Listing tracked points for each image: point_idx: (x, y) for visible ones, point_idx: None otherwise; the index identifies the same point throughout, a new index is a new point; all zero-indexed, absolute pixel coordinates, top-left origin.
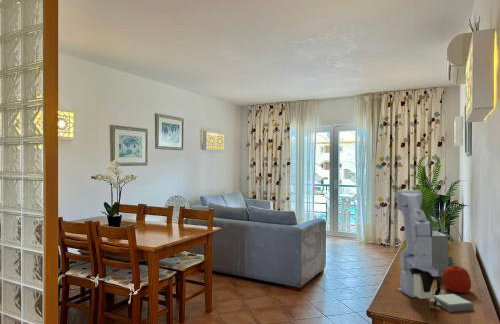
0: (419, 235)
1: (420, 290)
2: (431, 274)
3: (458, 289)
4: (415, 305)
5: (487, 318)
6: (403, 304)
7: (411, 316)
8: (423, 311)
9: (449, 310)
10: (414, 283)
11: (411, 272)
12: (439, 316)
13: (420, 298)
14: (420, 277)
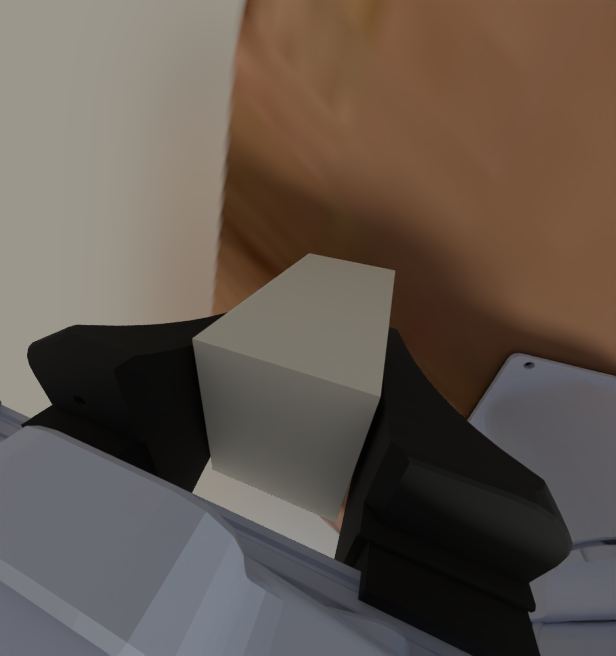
0: None
1: (284, 273)
2: (23, 419)
3: None
4: (403, 268)
5: None
6: (462, 200)
7: (274, 90)
8: (315, 240)
9: None
10: (371, 309)
11: (470, 438)
12: (246, 267)
13: (310, 254)
14: (199, 340)
